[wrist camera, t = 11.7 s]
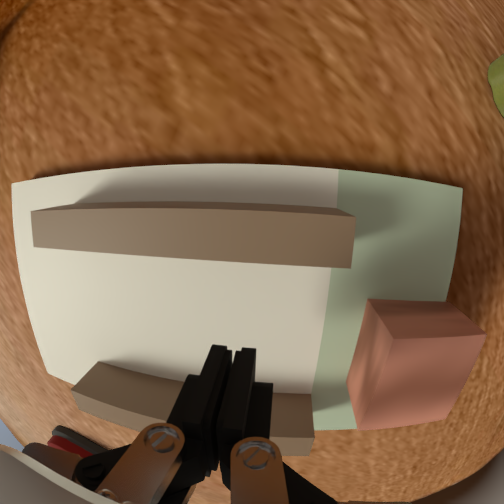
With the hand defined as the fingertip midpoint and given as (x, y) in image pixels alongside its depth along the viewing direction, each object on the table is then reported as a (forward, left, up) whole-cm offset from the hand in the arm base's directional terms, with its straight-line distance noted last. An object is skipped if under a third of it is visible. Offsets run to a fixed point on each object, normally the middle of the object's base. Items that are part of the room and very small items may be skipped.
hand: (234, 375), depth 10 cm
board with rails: (+1, -4, -8) cm, 9 cm away
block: (+2, +9, -6) cm, 11 cm away
